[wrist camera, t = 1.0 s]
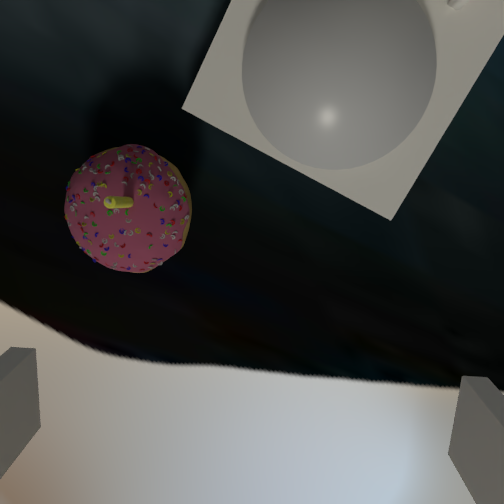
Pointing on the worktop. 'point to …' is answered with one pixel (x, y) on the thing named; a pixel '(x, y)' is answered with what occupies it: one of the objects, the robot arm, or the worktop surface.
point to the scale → (346, 85)
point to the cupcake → (128, 208)
